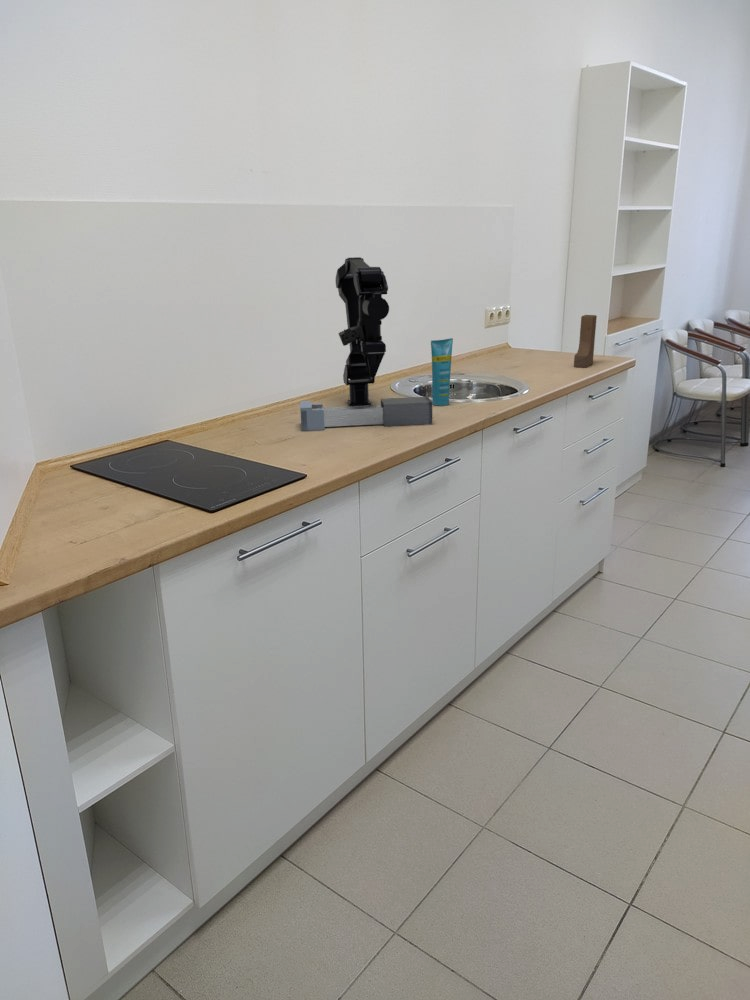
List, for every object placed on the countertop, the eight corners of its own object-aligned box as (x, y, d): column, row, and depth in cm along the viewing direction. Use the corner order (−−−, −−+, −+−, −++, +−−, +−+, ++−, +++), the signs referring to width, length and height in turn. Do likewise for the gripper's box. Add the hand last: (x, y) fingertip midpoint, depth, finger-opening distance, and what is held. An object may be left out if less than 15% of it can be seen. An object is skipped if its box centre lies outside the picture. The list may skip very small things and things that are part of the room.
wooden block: (585, 368, 268) (589, 317, 262) (573, 367, 271) (576, 317, 264) (593, 364, 275) (597, 315, 269) (581, 363, 278) (584, 314, 271)
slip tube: (312, 423, 199) (311, 407, 198) (392, 420, 201) (392, 403, 200) (312, 427, 195) (311, 411, 194) (394, 423, 198) (394, 407, 196)
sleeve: (381, 420, 203) (380, 398, 200) (427, 417, 204) (427, 396, 202) (384, 426, 196) (383, 404, 194) (432, 424, 197) (432, 402, 195)
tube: (436, 407, 215) (436, 341, 209) (426, 404, 219) (426, 339, 212) (455, 403, 219) (457, 338, 212) (445, 401, 223) (446, 336, 216)
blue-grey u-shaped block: (301, 423, 201) (299, 401, 199) (323, 422, 201) (322, 400, 199) (301, 431, 193) (300, 407, 191) (324, 429, 194) (323, 406, 192)
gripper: (337, 313, 205) (339, 369, 210) (342, 321, 187) (344, 382, 193) (377, 312, 206) (378, 367, 211) (385, 319, 189) (386, 380, 194)
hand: (371, 374), depth 202 cm, fingers open, 9 cm apart
